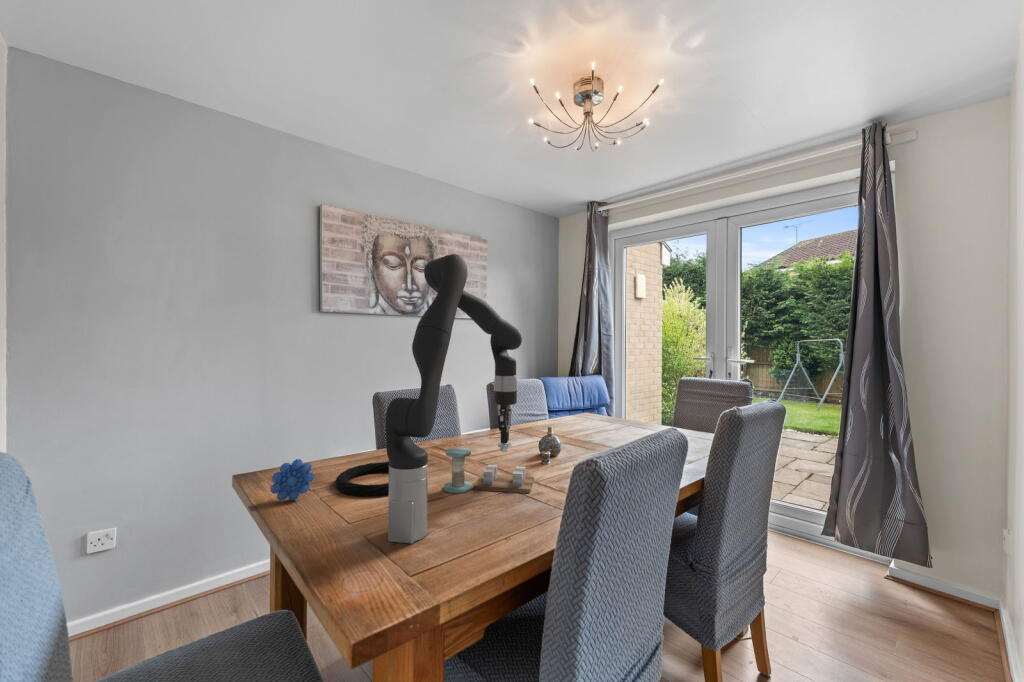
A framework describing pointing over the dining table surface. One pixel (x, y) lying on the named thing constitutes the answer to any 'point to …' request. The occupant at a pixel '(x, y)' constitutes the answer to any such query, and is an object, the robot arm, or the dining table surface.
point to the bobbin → (458, 471)
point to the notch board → (504, 481)
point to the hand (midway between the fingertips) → (504, 441)
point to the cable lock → (359, 488)
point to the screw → (504, 446)
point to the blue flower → (292, 480)
